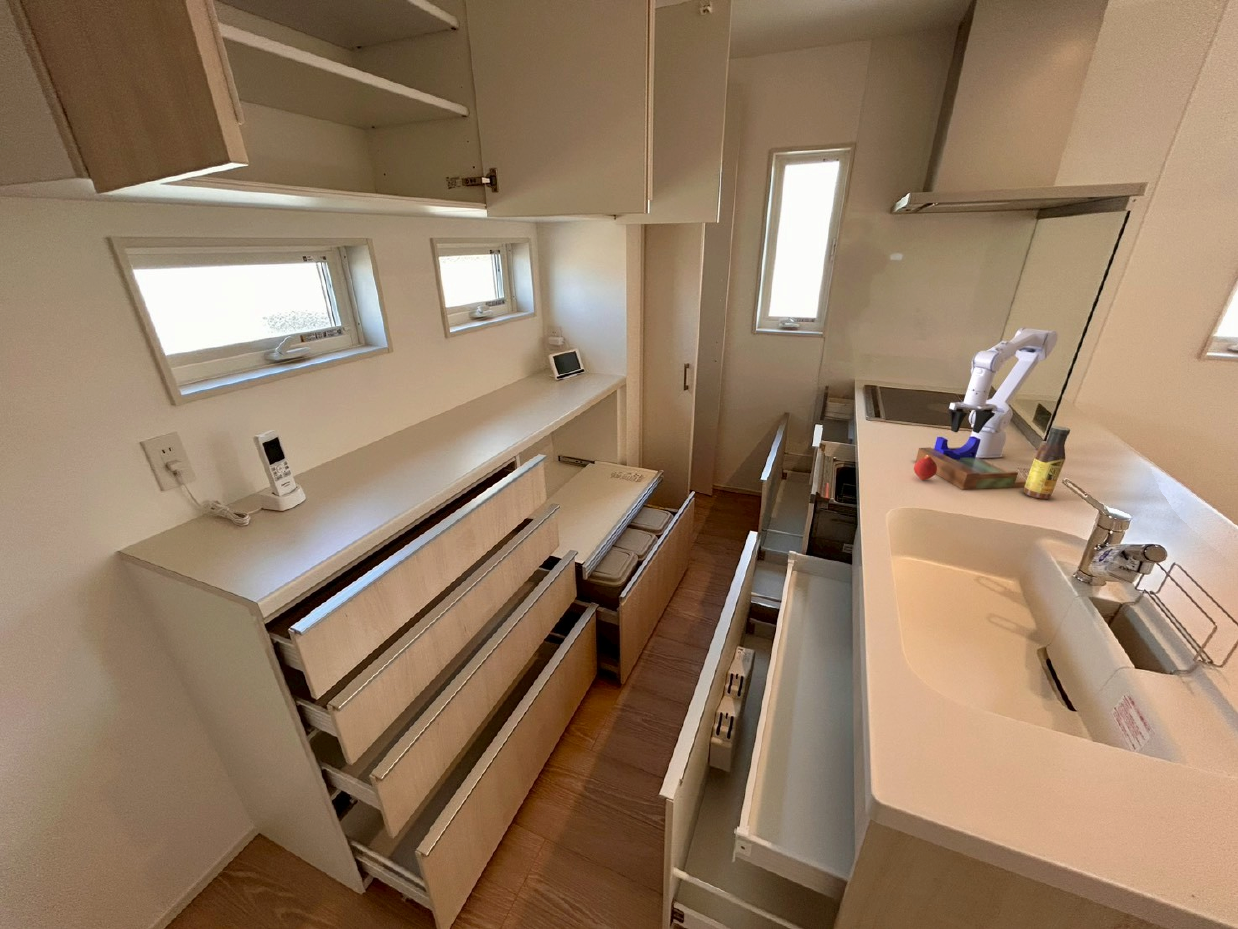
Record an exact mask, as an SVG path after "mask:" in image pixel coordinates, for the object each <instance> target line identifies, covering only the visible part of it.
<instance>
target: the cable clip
mask: <svg viewBox="0 0 1238 929" xmlns="http://www.w3.org/2000/svg"><path fill="white" fill-rule="evenodd" d="M948 441H949V440H948V439H947V438H945V437H944V436H937V437H936V440H935V444H934V446H933V448H934V450H936V451H938V452H940V453H942V454H944V455H946V456H948V457H950V458H952V459H960V458H968V457H976V454H977V451H978V447H979V444H980V441H981V440H980V439H978V438H976V437H970V436H969V437H968V439H967V441H966V442H965V444H963V445H961V448H958V449H955V450H950V449H949V448H950V447H949V446H948Z"/></svg>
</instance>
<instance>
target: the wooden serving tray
mask: <svg viewBox="0 0 1238 929" xmlns="http://www.w3.org/2000/svg"><path fill="white" fill-rule="evenodd" d="M961 447H962V446H961ZM961 447H948V448H949V449H950V450H955V449H958V448H961ZM926 455H929V456H930V458H931V459H932V460H933V461H934V462H935V463H936V466H937V472H936V474H935V475H937V476H939V477H940V478H942V479H944V480H945V481H947V482H949V483H951V484H952V485H954V486H955V487H957V488H959V489H961V490H981V489H1000V488H1001V489H1003V488H1020V487H1022V488H1023V487H1024V488H1025V483H1026V480H1025V479H1022V478H1020V477H1018V475H1019V472H1018V471H1016V470H1015V471H1007V470H1004V469H1003V468H1000V467H998V466H996V465H994V464H991V463H989V462H987V461H985V460H983V459H982V458H977V457H968V458H960V459H952V458H950V457H948V456H946V455H944V454H942V453H940V452H938V451H936V450H934V447H918V450H917V454H916V458H915V463H916V462H917V461H918V460H920V459H922V458H925V457H926Z"/></svg>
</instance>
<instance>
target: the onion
mask: <svg viewBox="0 0 1238 929" xmlns="http://www.w3.org/2000/svg"><path fill="white" fill-rule="evenodd" d="M913 471H914V474H915V475H916V476H917V477H918V478H919V480H921V481H925V480H929V479H931V478H934V476H935V475H937V474H936V472H937V466H936V463H935V462H934V461H933V460H932V459H931V458H930V456H929V455H926V457H925V458H922V459H920V460H918V461H917V462H916V461H915V463H914V466H913Z"/></svg>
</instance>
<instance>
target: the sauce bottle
mask: <svg viewBox="0 0 1238 929" xmlns="http://www.w3.org/2000/svg"><path fill="white" fill-rule="evenodd" d="M1070 433H1071V429H1070V428H1069V427H1065V426H1061V425H1052V426H1050V429H1049V434H1048V437H1047V438H1046V442H1045V443H1043V444H1041V446H1039V447H1038V449H1037V451H1036V454H1035V456H1034V459H1033V461H1032V464H1031V466H1030V469H1029V472H1028V475H1027V478H1026V480H1025V481H1026V483H1025V486H1024V488H1023V494H1025V495H1026V496H1029V497H1032V498H1033V499H1040V500H1041V499H1042V500H1046V499H1047V500H1048V499H1049V498H1050V497H1051V496H1052V494H1053V492H1054V490H1055V487H1056V485H1057V482H1058V479H1059V477H1060V474H1061V473H1062V472H1061V471H1062V469H1063V466H1064V464H1065V461H1066V447H1065V446H1066V441H1067V438H1068V436H1069V435H1070Z"/></svg>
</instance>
